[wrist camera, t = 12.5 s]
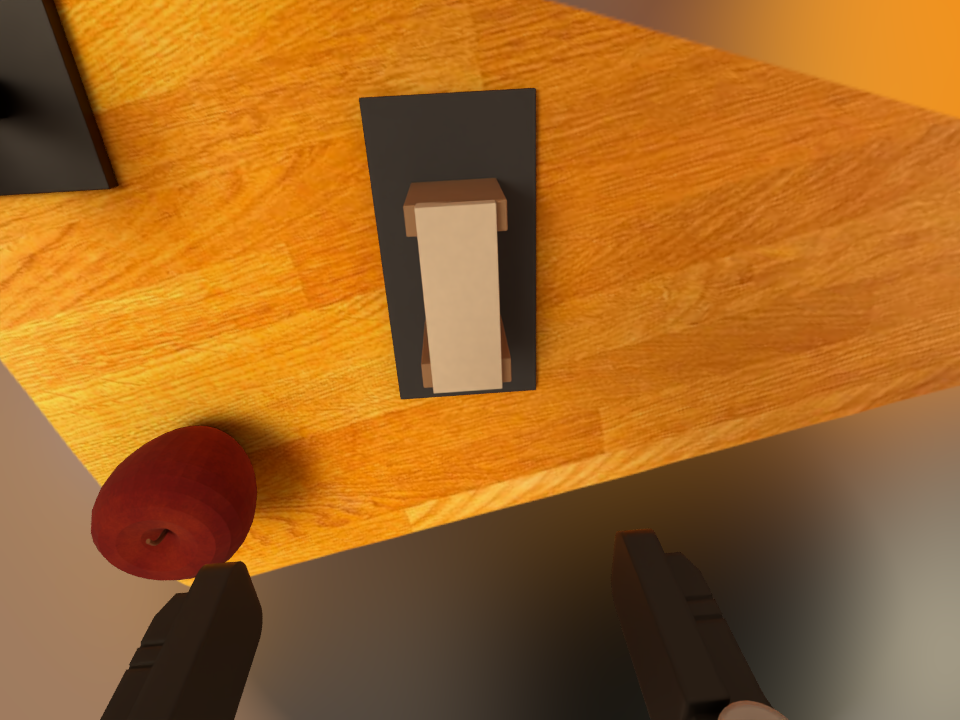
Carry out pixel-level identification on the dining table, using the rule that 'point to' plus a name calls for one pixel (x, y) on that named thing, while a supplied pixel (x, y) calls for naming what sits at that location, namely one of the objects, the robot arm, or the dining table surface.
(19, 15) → the stand
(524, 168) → the mat
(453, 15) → the dining table surface
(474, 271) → the beige wooden bench
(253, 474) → the apple
